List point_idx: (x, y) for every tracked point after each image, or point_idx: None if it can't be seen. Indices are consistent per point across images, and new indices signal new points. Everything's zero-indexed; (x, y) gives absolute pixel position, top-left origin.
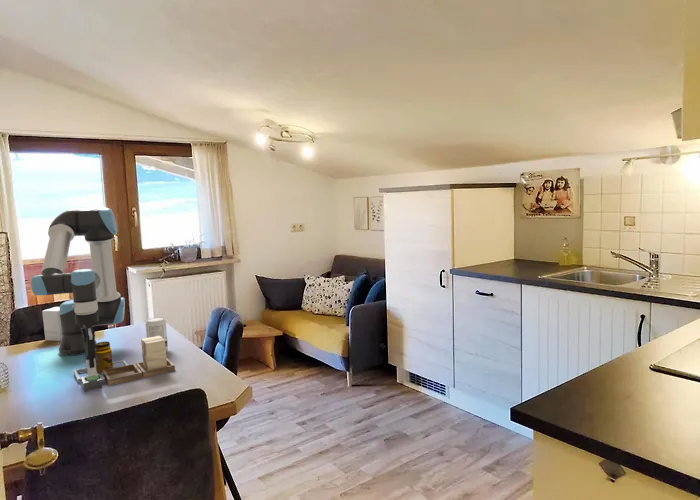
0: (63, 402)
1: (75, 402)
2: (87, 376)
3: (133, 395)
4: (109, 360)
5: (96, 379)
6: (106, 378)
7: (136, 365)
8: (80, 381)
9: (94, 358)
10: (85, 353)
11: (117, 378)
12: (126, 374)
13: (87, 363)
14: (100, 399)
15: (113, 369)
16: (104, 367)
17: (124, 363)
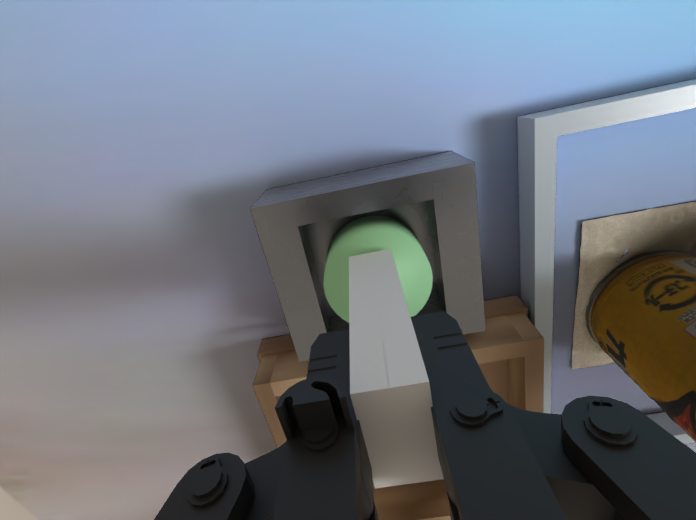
0: (57, 37)
1: (40, 143)
2: (383, 241)
3: (95, 451)
4: (673, 420)
5: (317, 305)
6: None
7: None
8: (523, 139)
9: (374, 473)
10: (585, 428)
11: (272, 430)
12: None
13: (351, 346)
14: (69, 304)
15: (522, 401)
16: (627, 344)
17: (685, 432)
